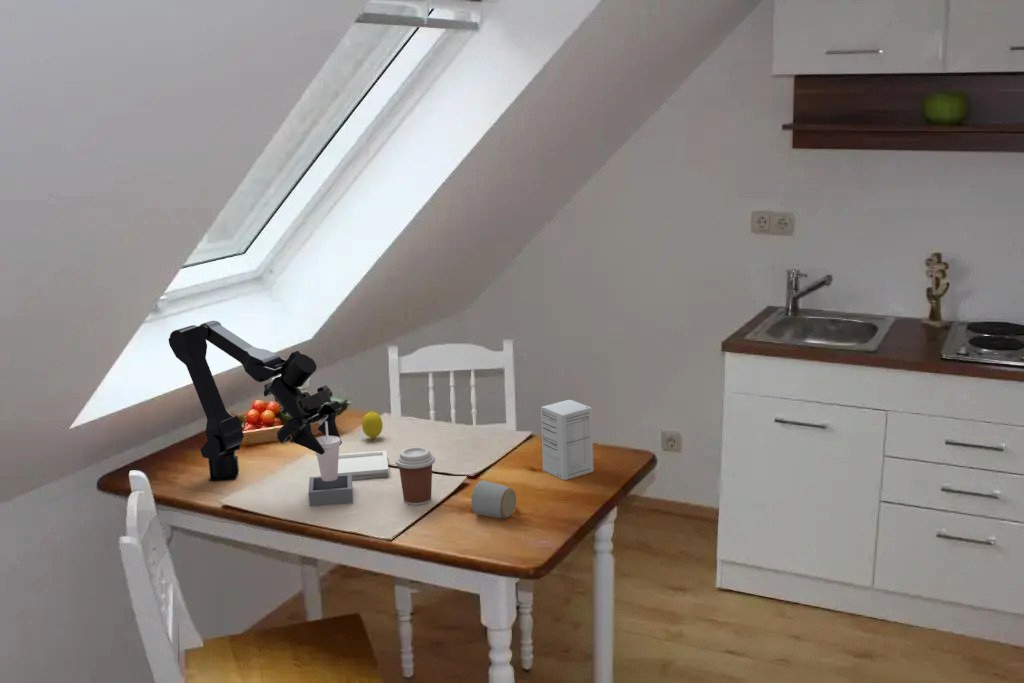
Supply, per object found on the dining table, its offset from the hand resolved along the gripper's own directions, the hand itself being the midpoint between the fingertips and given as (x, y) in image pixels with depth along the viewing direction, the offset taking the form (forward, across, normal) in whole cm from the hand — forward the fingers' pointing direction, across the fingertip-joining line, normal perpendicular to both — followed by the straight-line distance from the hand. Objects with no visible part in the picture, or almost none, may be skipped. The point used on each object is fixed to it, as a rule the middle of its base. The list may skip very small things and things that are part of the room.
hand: (332, 448), depth 247 cm
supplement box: (+39, +37, -22) cm, 58 cm away
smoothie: (+5, 0, +6) cm, 8 cm away
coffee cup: (+22, +6, -5) cm, 23 cm away
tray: (+5, +18, +13) cm, 22 cm away
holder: (+8, 0, +9) cm, 12 cm away
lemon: (-2, +39, +20) cm, 44 cm away
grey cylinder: (+37, +7, -20) cm, 42 cm away
